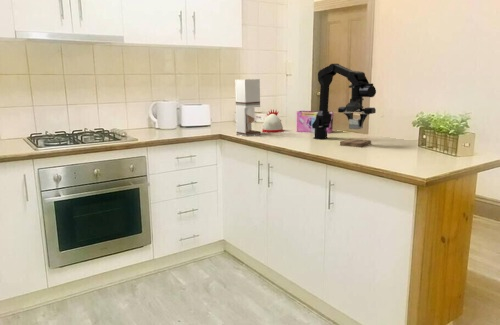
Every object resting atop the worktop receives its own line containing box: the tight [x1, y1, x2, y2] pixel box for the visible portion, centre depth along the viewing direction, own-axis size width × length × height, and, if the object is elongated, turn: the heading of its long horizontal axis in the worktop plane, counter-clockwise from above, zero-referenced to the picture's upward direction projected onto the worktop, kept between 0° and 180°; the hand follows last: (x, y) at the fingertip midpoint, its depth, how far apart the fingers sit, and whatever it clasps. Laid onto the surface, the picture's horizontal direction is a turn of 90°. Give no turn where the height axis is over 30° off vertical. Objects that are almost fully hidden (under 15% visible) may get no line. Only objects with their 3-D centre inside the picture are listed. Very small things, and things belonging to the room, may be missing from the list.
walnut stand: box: [339, 138, 372, 148], centre depth 219 cm, size 12×12×2 cm
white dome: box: [262, 109, 284, 134], centre depth 279 cm, size 14×14×15 cm
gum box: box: [296, 110, 334, 134], centre depth 271 cm, size 24×8×14 cm, turn 60°
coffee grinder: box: [234, 78, 262, 137], centre depth 262 cm, size 11×11×35 cm
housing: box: [348, 117, 364, 130], centre depth 217 cm, size 5×6×5 cm
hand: (355, 126), depth 218 cm, fingers closed on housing, 5 cm apart
